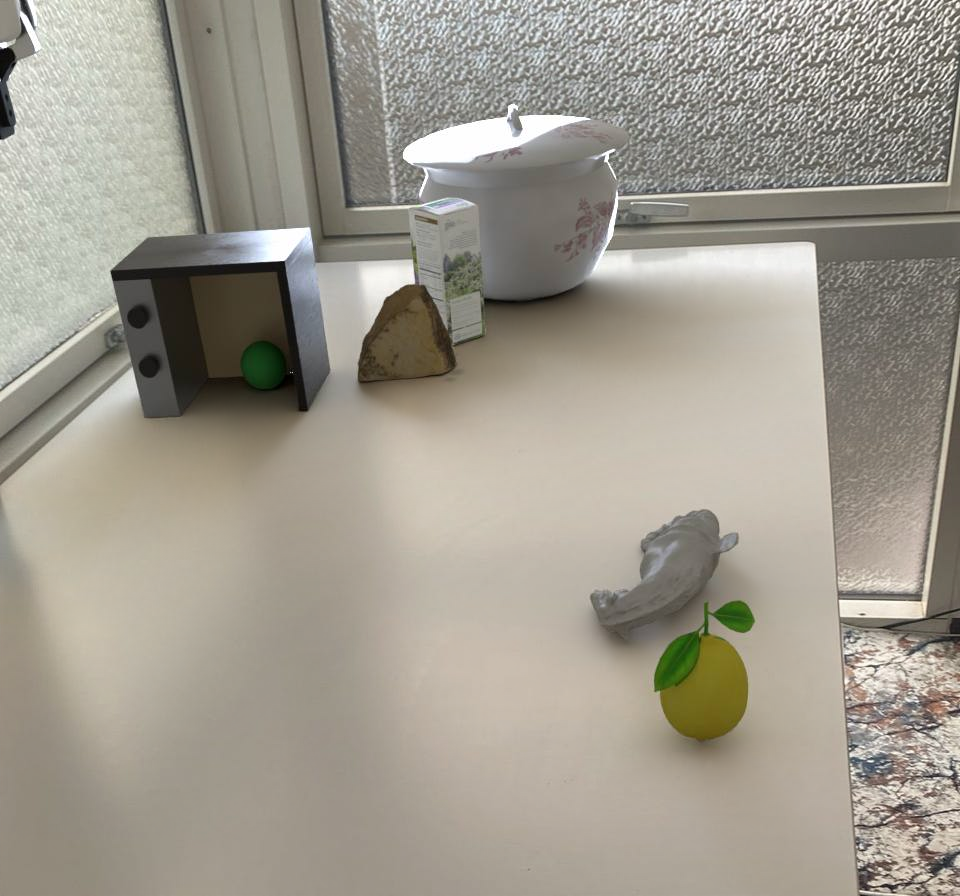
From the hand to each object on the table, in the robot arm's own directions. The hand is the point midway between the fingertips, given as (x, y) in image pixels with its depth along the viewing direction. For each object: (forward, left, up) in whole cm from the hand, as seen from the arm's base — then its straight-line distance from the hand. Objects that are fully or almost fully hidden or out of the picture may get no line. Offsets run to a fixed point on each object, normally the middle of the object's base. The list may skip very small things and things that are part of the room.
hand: (0, 136), depth 117 cm
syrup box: (+34, +33, -29) cm, 56 cm away
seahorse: (+58, -32, -29) cm, 72 cm away
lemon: (+60, -53, -29) cm, 85 cm away
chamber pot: (+41, +53, -29) cm, 73 cm away
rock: (+30, +21, -29) cm, 47 cm away
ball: (+15, +18, -27) cm, 36 cm away
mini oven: (+12, +17, -29) cm, 36 cm away
